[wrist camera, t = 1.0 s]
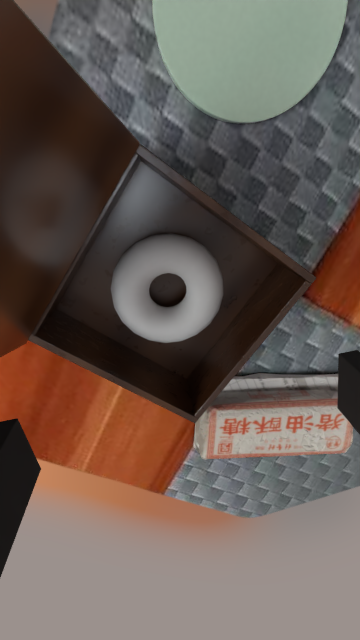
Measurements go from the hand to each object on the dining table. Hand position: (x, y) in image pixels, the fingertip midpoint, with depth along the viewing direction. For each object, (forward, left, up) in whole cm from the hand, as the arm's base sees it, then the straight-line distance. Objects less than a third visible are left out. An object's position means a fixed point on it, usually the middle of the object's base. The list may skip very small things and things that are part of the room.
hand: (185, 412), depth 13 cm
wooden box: (0, 0, -19) cm, 19 cm away
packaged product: (-15, +13, -19) cm, 28 cm away
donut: (0, 0, -19) cm, 19 cm away
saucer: (-3, -21, -19) cm, 28 cm away
